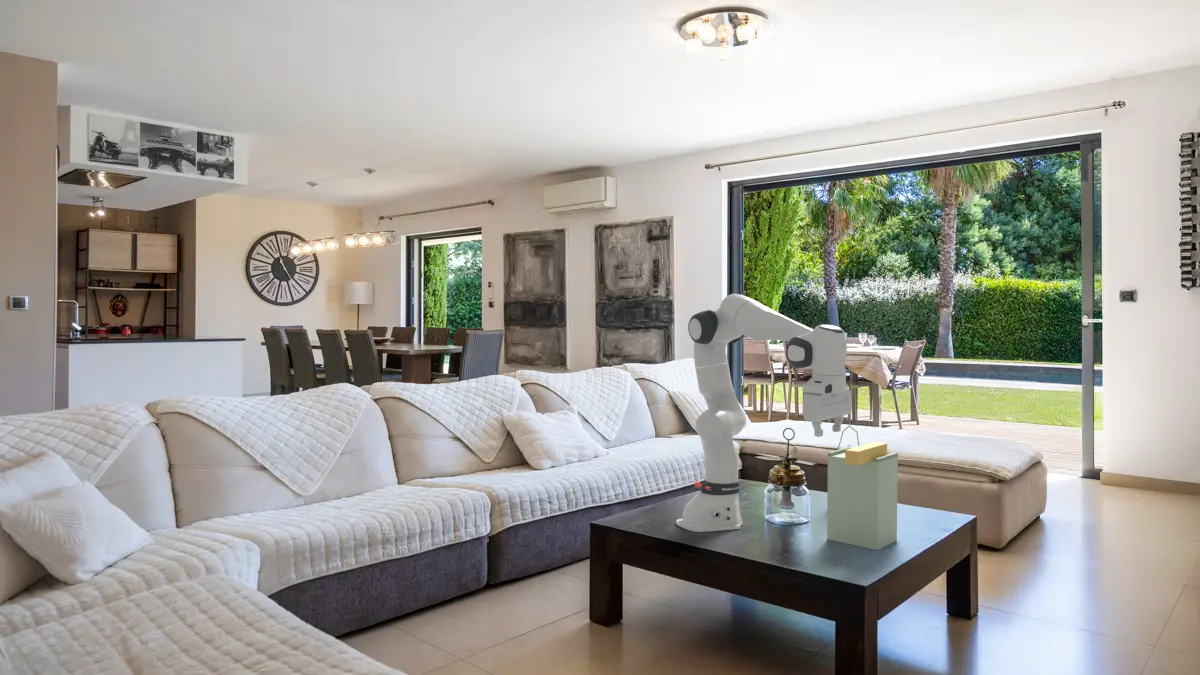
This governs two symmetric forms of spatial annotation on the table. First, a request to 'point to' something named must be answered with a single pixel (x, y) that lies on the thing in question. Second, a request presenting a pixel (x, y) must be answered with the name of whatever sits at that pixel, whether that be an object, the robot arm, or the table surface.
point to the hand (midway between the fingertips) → (827, 433)
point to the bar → (865, 453)
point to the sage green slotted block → (862, 501)
